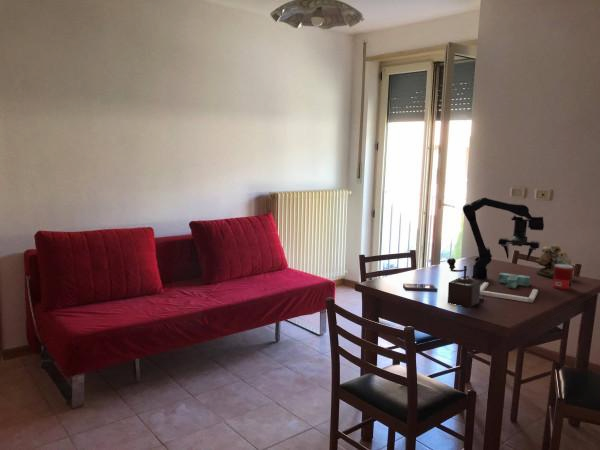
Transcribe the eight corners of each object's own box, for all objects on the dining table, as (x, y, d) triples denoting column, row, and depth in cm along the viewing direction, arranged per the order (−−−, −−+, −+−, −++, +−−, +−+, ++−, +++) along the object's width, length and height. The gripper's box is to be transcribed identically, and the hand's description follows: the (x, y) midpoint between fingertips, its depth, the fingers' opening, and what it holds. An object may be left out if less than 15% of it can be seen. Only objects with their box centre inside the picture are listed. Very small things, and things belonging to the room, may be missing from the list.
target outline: (475, 293, 230) (476, 290, 230) (483, 284, 245) (484, 282, 245) (532, 302, 217) (532, 299, 217) (537, 292, 233) (537, 289, 232)
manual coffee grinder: (480, 302, 217) (483, 262, 214) (469, 308, 209) (472, 266, 206) (447, 295, 227) (449, 256, 225) (435, 300, 219) (438, 260, 217)
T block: (495, 285, 244) (496, 277, 243) (499, 280, 254) (500, 272, 254) (526, 290, 237) (527, 281, 236) (529, 284, 247) (530, 276, 246)
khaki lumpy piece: (530, 274, 267) (532, 243, 265) (540, 271, 275) (542, 240, 272) (565, 281, 253) (568, 248, 251) (575, 277, 261) (578, 245, 259)
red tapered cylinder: (573, 290, 237) (575, 268, 235) (555, 289, 239) (557, 267, 237) (568, 286, 244) (570, 264, 243) (550, 285, 246) (552, 263, 244)
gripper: (497, 229, 249) (495, 260, 251) (538, 233, 239) (535, 265, 242) (501, 226, 258) (499, 256, 261) (541, 230, 249) (538, 260, 251)
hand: (517, 259), depth 253 cm, fingers open, 9 cm apart
